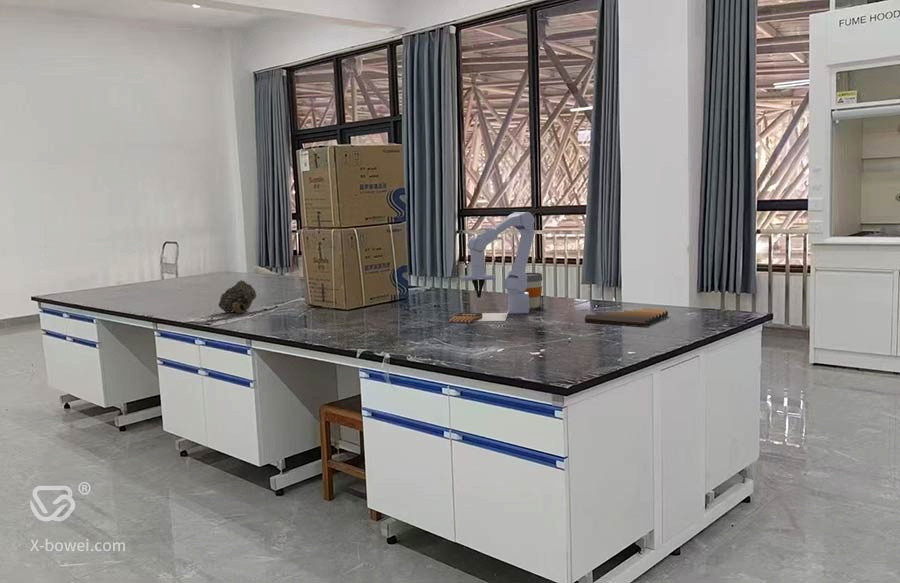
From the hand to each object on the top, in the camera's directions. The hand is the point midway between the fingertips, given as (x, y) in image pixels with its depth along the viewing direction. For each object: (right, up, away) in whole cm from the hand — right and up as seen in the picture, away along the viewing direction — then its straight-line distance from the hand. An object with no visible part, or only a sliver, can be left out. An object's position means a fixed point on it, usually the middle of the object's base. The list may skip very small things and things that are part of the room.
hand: (478, 297), depth 315 cm
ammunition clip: (-3, -8, +1) cm, 8 cm away
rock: (-115, -8, +45) cm, 124 cm away
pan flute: (+59, -10, -16) cm, 62 cm away
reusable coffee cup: (+24, -5, +25) cm, 35 cm away
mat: (+6, -9, 0) cm, 10 cm away
